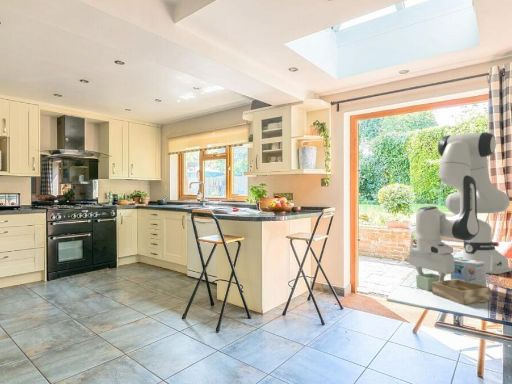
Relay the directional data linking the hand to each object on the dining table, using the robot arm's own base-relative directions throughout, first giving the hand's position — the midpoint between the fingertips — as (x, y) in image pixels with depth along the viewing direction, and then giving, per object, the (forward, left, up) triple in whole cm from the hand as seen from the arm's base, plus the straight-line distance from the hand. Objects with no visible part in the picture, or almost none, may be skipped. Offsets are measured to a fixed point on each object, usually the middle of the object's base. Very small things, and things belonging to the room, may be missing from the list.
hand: (430, 280), depth 127 cm
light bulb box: (-15, +4, -4) cm, 16 cm away
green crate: (0, -1, -3) cm, 3 cm away
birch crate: (-1, +12, -3) cm, 13 cm away
